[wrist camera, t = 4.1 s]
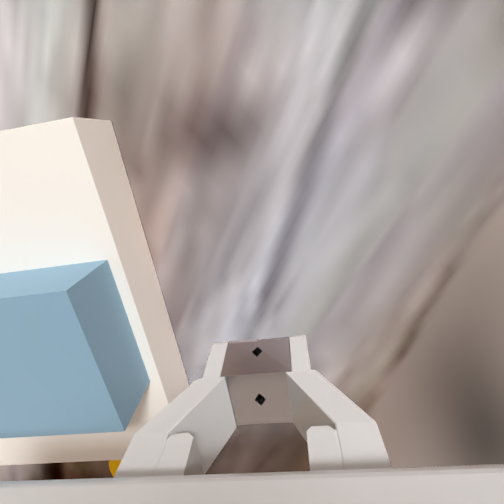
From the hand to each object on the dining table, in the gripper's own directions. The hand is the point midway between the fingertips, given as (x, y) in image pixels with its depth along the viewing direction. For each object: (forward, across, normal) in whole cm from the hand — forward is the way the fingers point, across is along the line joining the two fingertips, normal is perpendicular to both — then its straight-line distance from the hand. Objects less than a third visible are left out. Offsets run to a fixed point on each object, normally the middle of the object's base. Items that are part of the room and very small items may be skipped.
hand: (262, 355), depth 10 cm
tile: (+2, +10, 0) cm, 10 cm away
